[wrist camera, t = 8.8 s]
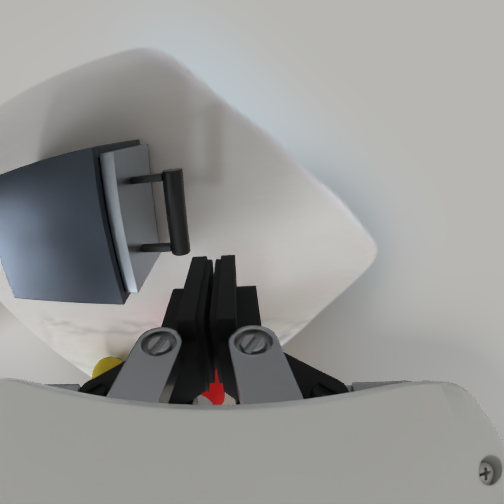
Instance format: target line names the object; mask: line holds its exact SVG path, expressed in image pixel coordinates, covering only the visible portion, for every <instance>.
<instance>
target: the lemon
mask: <svg viewBox="0 0 504 504" xmlns="http://www.w3.org/2000/svg"><path fill="white" fill-rule="evenodd" d="M120 363H122V361H121V360H119V359H118V358H114V357H106V358H104V359H102V360H100V361H99V362H98V363H97V365H96V366H95V368H94V370H93V374H92V379H93V378H95V377H97V376H99V375H100V374H102V373H104V372H106V371H108V370H110V369H111V368H113V367H115V366H117V365H119V364H120Z"/></svg>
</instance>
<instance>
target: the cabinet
mask: <svg viewBox="0 0 504 504" xmlns="http://www.w3.org/2000/svg"><path fill="white" fill-rule="evenodd" d="M137 145H139V139H138V140H131V141H124V142H118V143H112V144H107V145H101V146H96V147H91V148H87V149H83V150H79V151H74V152H71V153H67V154H63V155H59V156H56V157H52V158H49V159H45V160H42V161H39V162H35V163H32V164H29V165H26V166H23V167H20V168H17V169H15V170H12V171H9V172H6V173H4V174H1V175H0V260H1V263H2V266H3V269H4V271H5V274H6V277H7V279H8V282H9V285H10V287H11V290H12V292H13V294H14V297H15V298H22V299H33V300H46V301H60V302H76V303H96V304H125V302H126V300H127V298H128V296H129V295H130V293H126V291H125V287H124V283H123V280H122V276H121V272H120V273H119V269H118V265H117V261H116V257H115V253H114V249H113V244H112V240H111V235H110V230H109V225H108V220H107V215H106V209H105V203H104V197H103V190H102V183H101V176H100V168H99V159H100V154H102V153H106V152H110V151H114V150H119V149H123V148H128V147H132V146H137Z"/></svg>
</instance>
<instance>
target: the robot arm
mask: <svg viewBox="0 0 504 504" xmlns="http://www.w3.org/2000/svg"><path fill="white" fill-rule="evenodd" d="M216 367H217V373H218V379H219V383H223V389H224V392H226V393H227V394H228V395H230V396H231V397H233V398H234V399H235V404H236V405H198V398H197V397H198V396H199V395H201V394H202V393H203V392H209V390H210V384H215V375H216ZM0 504H504V444H503V442H502V440H501V438H500V436H499V434H498V432H497V431H496V429H495V427H494V425H493V424H492V422H491V420H490V419H489V417H488V416H487V414H486V412H485V411H484V410H483V408H482V407H481V406H480V404H479V403H478V402H477V400H476V399H475V398H474V397H473V396H472V395H471V394H470V393H469V392H468V391H467V390H466V389H464V388H463V387H461V386H459V385H457V384H454V383H450V382H443V381H389V382H353V383H352V386H347V385H344V383H342V382H340V381H339V380H337V379H335V378H333V377H331V376H329V375H327V374H325V373H323V372H321V371H319V370H317V369H315V368H313V367H311V366H309V365H307V364H305V363H303V362H301V361H299V360H297V359H296V358H294V357H292V356H290V355H288V354H286V353H284V352H283V350H282V347H281V345H280V343H279V340H278V338H277V336H276V335H275V333H274V332H273V331H271V330H270V329H268V328H265V327H263V326H261V320H260V313H259V306H258V298H257V291H256V286H242V287H237V284H236V267H235V255H226V256H221V259H216V263H215V272H213V262H212V260H207V256H203V257H193V258H192V261H191V265H190V268H189V272H188V275H187V279H186V282H185V286H184V289H174V290H173V292H172V295H171V298H170V301H169V304H168V307H167V310H166V314H165V317H164V320H163V323H162V327H159V328H154V329H151V330H149V331H146V332H145V333H143V334H142V335H141V336H140V337H139V339H138V340H137V342H136V343H135V345H134V347H133V349H132V350H131V352H130V354H129V356H128V358H127V359H126V361H124V362H122V363H120V364H119V365H117V366H115V367H113V368H111V369H110V370H108V371H106V372H104V373H102V374H100V375H99V376H97V377H95V378H93V379H91V380H89V381H88V382H86V383H85V384H84V385H83V386H82V387H80V385H79V384H53V385H49V384H48V385H47V384H40V383H35V382H31V381H27V380H21V379H13V378H0Z"/></svg>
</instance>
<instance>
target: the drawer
mask: <svg viewBox="0 0 504 504" xmlns="http://www.w3.org/2000/svg"><path fill="white" fill-rule="evenodd" d="M99 168H100V176H101V183H102V190H103V197H104V203H105V209H106V215H107V220H108V225H109V230H110V235H111V240H112V244H113V249H114V253H115V257H116V261H117V265H118V269H119V273H120V272H121V276H122V280H123V283H124V287H125V291H126V293H138V292H139V290H140V289H141V287H142V285H143V283H144V281H145V279H146V278H147V276H148V274H149V272H150V270H151V269H152V267H153V265H154V263H155V262H156V260H157V258H158V256H159V255H160V253H161V252H168V251H172V253H173V255H177V256H181V255H186V254H188V253H189V252H190V243H189V234H188V225H187V216H186V206H185V196H184V184H183V172H182V169H180V168H175V169H168V170H164V171H162V173H157V174H150V167H149V155H148V144H144V145H137V146H132V147H128V148H123V149H119V150H114V151H110V152H106V153H102V154H100V159H99ZM160 181H163V187H164V196H165V205H166V213H167V221H168V229H169V236H170V243H159V238H158V232H157V225H156V218H155V211H154V203H153V195H152V186H151V182H160Z"/></svg>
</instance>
